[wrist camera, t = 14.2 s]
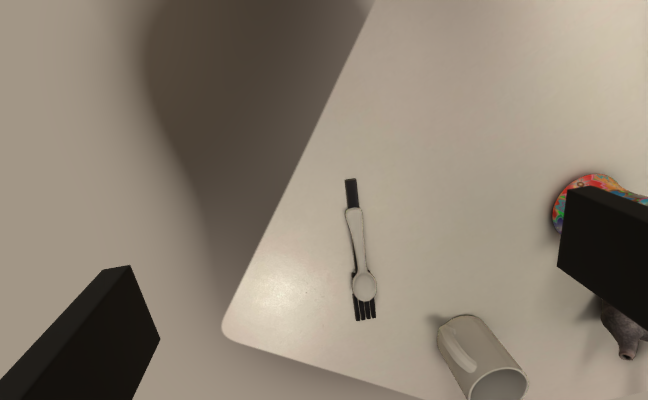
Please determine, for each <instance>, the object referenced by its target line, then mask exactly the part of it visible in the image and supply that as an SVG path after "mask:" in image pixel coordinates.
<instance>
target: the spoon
mask: <svg viewBox="0 0 648 400" xmlns="http://www.w3.org/2000/svg"><path fill="white" fill-rule="evenodd" d="M345 217H346V220H347V223H348V226H349V229H350V232H351V235H352V239H353V244H354V250H355V255H356V260H357V266H358V272H357V274H356V275H355V277H354V279H353V281H352V290H353V293H354V295H355V296H356V298H357V299H359V300H360V301H364V302H366V301H370V300H371V299H372V298H373V297H374V296H375V294H376V291H377V283H376V280H375V278H374V276H373V275H372V274H371V273H369V272H368V271H367V268H366V258H365V247H364V238H363V215H362V210H361V209H360V208H350V209H348V210H346V212H345Z"/></svg>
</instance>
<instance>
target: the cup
mask: <svg viewBox="0 0 648 400" xmlns="http://www.w3.org/2000/svg"><path fill="white" fill-rule="evenodd" d="M437 344H438V348H439V350H440V352H441V354H442V356H443V357H444V359H445V361H446V363H447V364H448V366H449V368H450V370H451V372H452V373H453V375H454V377H455V379H456V381H457V382H458V384H459V386H460V388H461V390H462V391H463V393H464V395H465V397H466V399H467V400H522V399H523V398H524V396H525V395H526V393H527V391H528V387H529V380H528V377H527V375H526V374H525V373H524V371H523V370H522V369H521V368H520V366H519V365H518V364H517V363H516V361H515V360H514V359H513V358H512V356H511V355H510V354H509V353H508V351H507V350H506V349H505V348H504V346H503V345H502V344H501V343H500V341H499V340H498V339H497V338H496V336H495V335H494V334H493V333H492V331H491V330H490V329H489V328H488V327H487V325H486V324H485V323H484V322H483V321H482V320H481V319H479V318H477V317H473V316H459V317H456V318H454V319H452V320H450V321H448V322H447V323H446V324H445V325H443V326H441V327H440V328H439V330H438V339H437Z"/></svg>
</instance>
